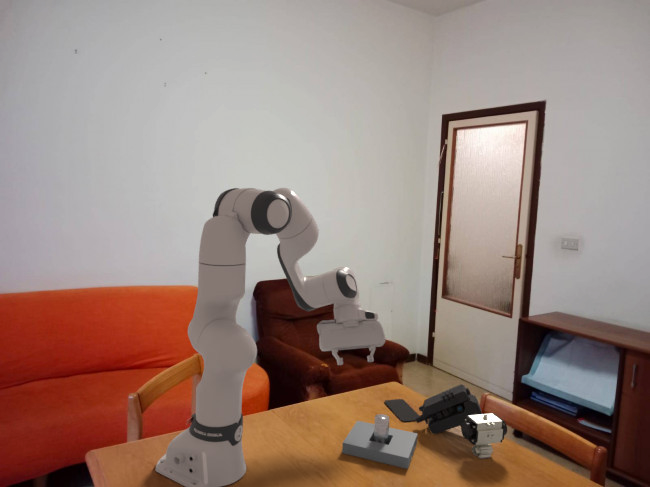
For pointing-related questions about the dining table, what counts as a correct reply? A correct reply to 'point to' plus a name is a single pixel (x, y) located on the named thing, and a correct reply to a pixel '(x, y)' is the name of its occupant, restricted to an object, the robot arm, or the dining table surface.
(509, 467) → the dining table surface
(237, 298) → the robot arm
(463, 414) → the tool
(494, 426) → the pneumatic valve
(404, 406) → the phone
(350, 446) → the socket plate
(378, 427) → the steel pin
